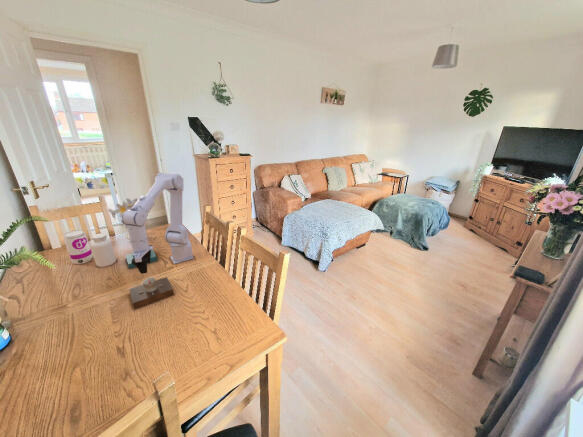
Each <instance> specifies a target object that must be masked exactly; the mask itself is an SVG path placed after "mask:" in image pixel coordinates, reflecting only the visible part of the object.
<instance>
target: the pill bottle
mask: <svg viewBox="0 0 583 437" xmlns="http://www.w3.org/2000/svg"><path fill="white" fill-rule="evenodd" d="M91 239H92V241H91V242H90V243H89V245H90V248H91V251H92V254H93V259H94V261H95V265H96V266H97V267H99V268H105V267H109V266H111V265H114V264H115V263H116V262H117V257H116V254H115V250H114V246H113V243H112V240H111V239H110V238H108V237H107V234H106V233H103V232H102V233H96V234H94V235H92V236H91Z"/></svg>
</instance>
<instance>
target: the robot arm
mask: <svg viewBox="0 0 583 437" xmlns="http://www.w3.org/2000/svg"><path fill="white" fill-rule="evenodd" d="M165 190H166V191H167V192H168V193H169V198H170V200H169V201H170V202H169V204H170V208H169V211H170V213H169V214H170V218H169V219H170V225H169V226H167V228H165V234H164V240H165V242H166V243H168V245H169V247H170V252H171V256H169V258H170V260H171V261H172V263H173V264H174V265H176V264H179V263H183V262H187V261H189V260H193V259H194V254H193V247H192V243H191V241H190V240H189V239H190V235H189V230H188V228H187V227H186V226H185V225H184V224H183V192H184V178H183V177H182V175H181V174H180V173H176V174H175V173H165V172H158V173H157V174H156V176H155V177H154V183H153V185H152V186H151V188H150V189H149V190H148V192H147V193H146V195H141V196H139V197H138V199H137V202H136V203H135V204H134V205H133V207H132V208H131V209H130V210H127V211H125V212H124V213H123V214H122V217H121V218H120V222H121V224H123V225H124V226H125V228H126V229H127V234H128V233H129V237H130V240H129V242H130V244H131V248H132V250H131V251H132V253H133V254H134V256H135V259H132V261H131V262H132V264H134V265H135V266H136V267H135V268H136V269H137V270H138V271H139V273H140V274H143V275H144V274H147V273H148V264H151V263H150V256H151V250H152V249H153V250H154V246H153V245H152V244H151V245H150V243H149V239H148V235H147V230H146V225H145V224H146V223H147V220H148V217H149V213H150V211H151V210H152V209H153V208H154V206H155V205H156V202H155V201H156V199H157V198H158V197H159V196H160V195H161V194H162V193H163V192H164V191H165ZM147 263H148V264H147Z"/></svg>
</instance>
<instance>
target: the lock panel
mask: <svg viewBox="0 0 583 437" xmlns="http://www.w3.org/2000/svg"><path fill="white" fill-rule="evenodd" d="M156 284H157V289H156V290H155V291H153V292H149V293H148V292H145V289H144V285H143V284H140V285H137V286H135V287H132V288H129V289H128V290H129V295H130V299H131V302H132V306H133V310H137V309H140V308H143V307H145V306H148V305H150V304H153V303H156V302H158V301H159V302H160V301H161V300H164V299H167V298H169V297H172V296H174V295H175V293H174V288H173V286H172V285H171V282H170V280H169V278H168V276H166V277H162V278H159V279H156Z"/></svg>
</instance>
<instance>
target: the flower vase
mask: <svg viewBox="0 0 583 437" xmlns="http://www.w3.org/2000/svg"><path fill="white" fill-rule="evenodd" d="M125 200H126V201H127V202H126V201H125ZM125 200H123V201H122V205H121V204H120V203H116V204H115V206H116V209H115V210H114V209H111V208H110V207H108V206H106V208H107V211H108V212H109V213H110V214H111V216H112V218H113V219H114V220H116V214H119V217H120V218H122V214H123V213H124V212H125V211H127V210H130V209H131V208H132V207H133V205H134V204H135V203H136V202H137V201H138V198H133V200H132V199H130V198H128V197H127V198H126V199H125ZM126 239H127V240H128V241H130V237H129V233H128V232H127V234H126Z"/></svg>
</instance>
